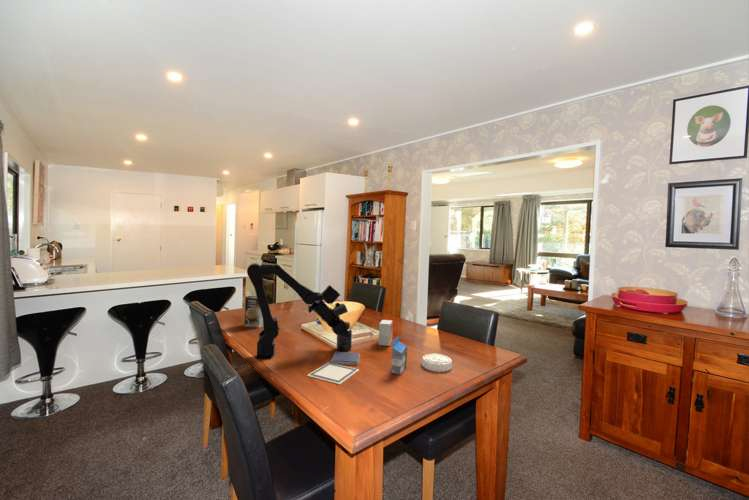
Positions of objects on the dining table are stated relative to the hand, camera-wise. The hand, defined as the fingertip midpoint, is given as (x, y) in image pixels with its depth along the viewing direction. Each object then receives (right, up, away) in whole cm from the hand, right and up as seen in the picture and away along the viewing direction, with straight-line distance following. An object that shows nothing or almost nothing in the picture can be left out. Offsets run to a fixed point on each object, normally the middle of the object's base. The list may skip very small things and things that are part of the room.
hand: (347, 334), depth 149 cm
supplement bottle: (-2, -7, 0) cm, 7 cm away
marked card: (-3, -8, -27) cm, 28 cm away
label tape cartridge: (+22, -8, -22) cm, 32 cm away
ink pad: (+1, -7, -13) cm, 15 cm away
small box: (+18, -7, +10) cm, 22 cm away
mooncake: (+38, -9, -16) cm, 42 cm away
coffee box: (-54, -4, +32) cm, 63 cm away
